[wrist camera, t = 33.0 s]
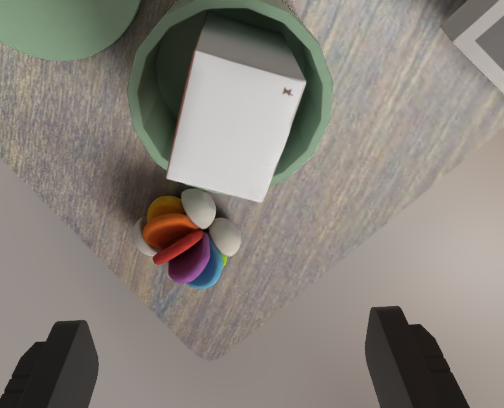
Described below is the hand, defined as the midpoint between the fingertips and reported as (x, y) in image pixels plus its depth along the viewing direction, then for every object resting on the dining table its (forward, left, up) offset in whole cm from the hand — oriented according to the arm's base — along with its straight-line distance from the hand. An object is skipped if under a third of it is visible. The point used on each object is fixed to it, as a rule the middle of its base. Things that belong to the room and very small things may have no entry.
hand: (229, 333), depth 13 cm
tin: (0, 0, -28) cm, 28 cm away
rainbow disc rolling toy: (+15, -5, -28) cm, 32 cm away
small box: (0, 0, -28) cm, 28 cm away
